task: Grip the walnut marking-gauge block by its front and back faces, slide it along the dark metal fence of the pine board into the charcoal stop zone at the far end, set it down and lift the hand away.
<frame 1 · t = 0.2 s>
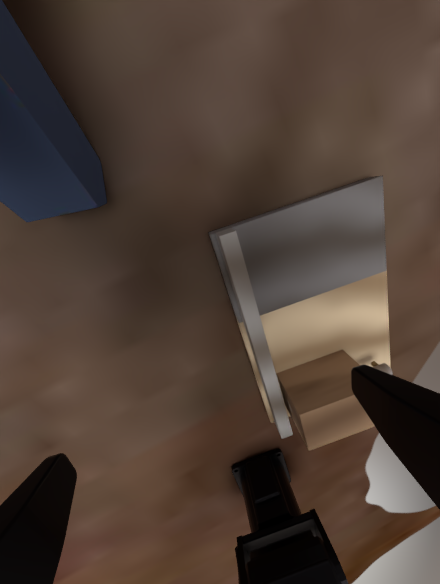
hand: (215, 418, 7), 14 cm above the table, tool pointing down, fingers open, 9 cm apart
gauge: (313, 378, 24), point 1 cm above the table, touching board
glue gun: (5, 6, 14), on the table
board: (309, 313, 23), on the table
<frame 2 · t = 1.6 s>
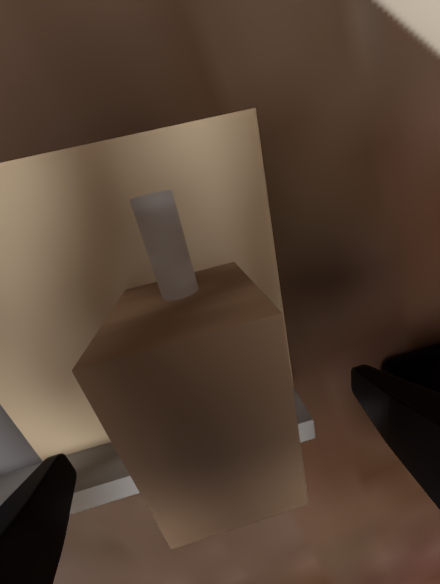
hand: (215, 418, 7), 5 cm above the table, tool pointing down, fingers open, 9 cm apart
gauge: (201, 347, 11), point 1 cm above the table, touching board
board: (58, 340, 11), on the table
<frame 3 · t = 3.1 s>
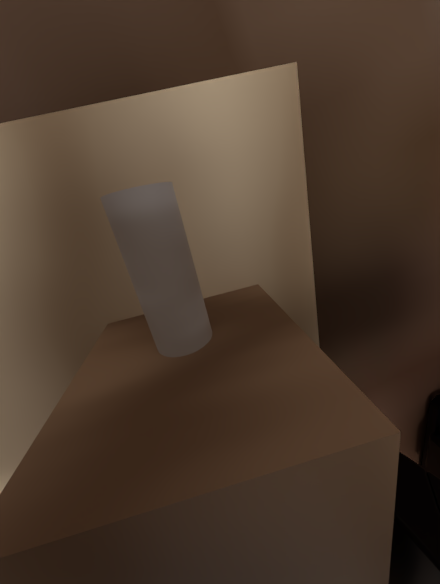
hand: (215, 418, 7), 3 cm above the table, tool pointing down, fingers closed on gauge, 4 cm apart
gauge: (211, 393, 8), point 1 cm above the table, touching board, gripper
board: (24, 382, 9), on the table
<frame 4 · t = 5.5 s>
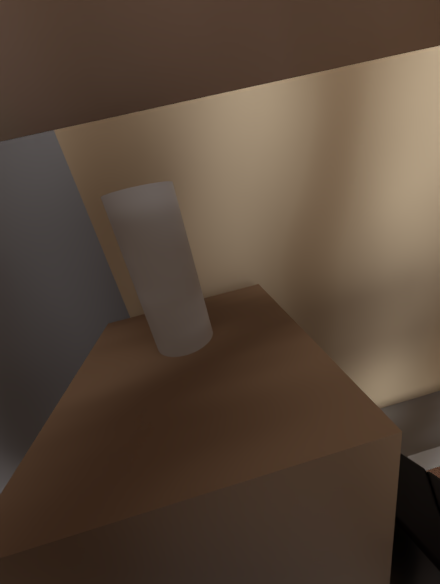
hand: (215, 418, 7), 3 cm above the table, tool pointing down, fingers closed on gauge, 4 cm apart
gauge: (212, 393, 8), point 2 cm above the table, touching gripper
board: (214, 325, 10), on the table
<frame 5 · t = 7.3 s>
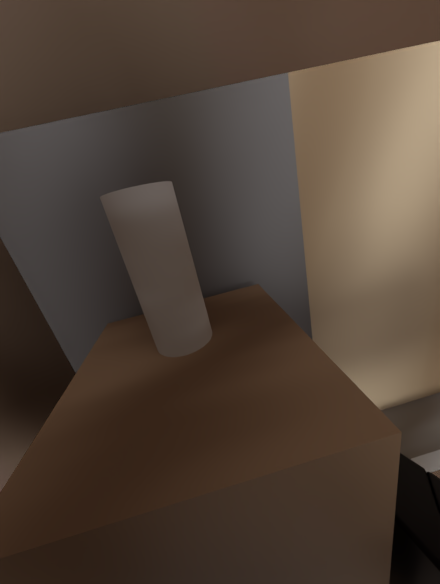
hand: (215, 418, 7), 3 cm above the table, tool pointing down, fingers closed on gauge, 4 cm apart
gauge: (211, 393, 8), point 2 cm above the table, touching gripper
board: (349, 288, 10), on the table
when the fingers open (3 cm above the table, at t = 8.3 s): gauge stays where it is, resting on board.
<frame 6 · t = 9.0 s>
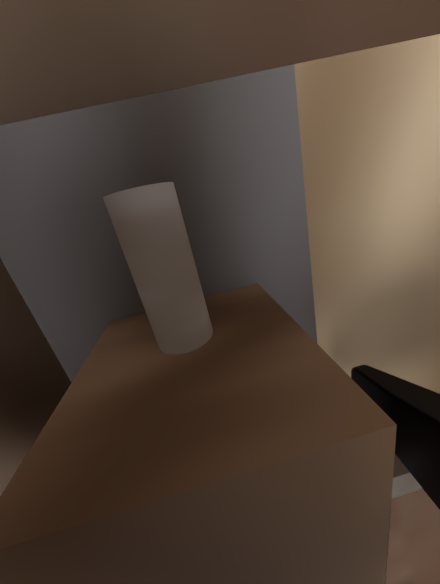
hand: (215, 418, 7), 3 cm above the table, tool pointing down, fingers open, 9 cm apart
gauge: (212, 392, 8), point 1 cm above the table, touching board
board: (355, 291, 10), on the table
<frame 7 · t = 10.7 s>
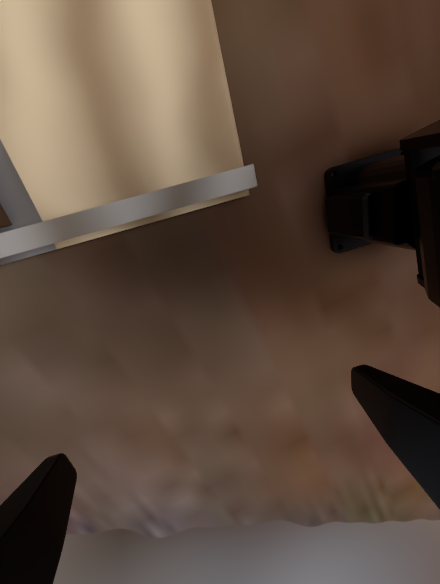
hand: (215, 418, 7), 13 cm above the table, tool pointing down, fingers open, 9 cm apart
board: (52, 120, 14), on the table
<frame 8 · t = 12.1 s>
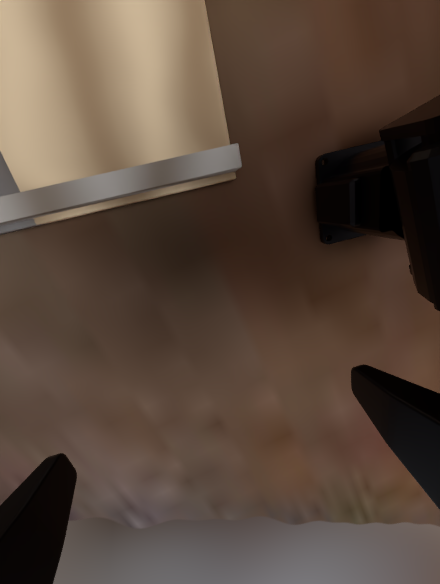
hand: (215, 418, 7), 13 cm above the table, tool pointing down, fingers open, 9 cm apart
board: (35, 92, 14), on the table
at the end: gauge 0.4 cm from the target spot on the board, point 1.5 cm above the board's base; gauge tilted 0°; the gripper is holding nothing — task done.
